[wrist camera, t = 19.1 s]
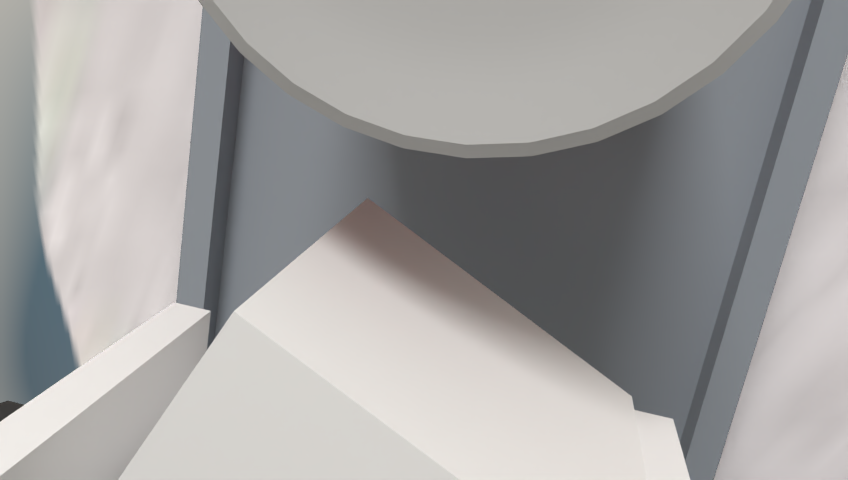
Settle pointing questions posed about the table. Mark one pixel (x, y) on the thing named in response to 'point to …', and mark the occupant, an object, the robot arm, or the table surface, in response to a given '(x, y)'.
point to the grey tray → (546, 214)
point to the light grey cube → (388, 379)
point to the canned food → (492, 64)
